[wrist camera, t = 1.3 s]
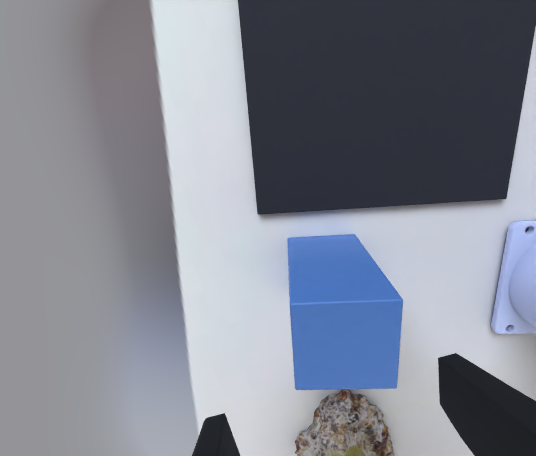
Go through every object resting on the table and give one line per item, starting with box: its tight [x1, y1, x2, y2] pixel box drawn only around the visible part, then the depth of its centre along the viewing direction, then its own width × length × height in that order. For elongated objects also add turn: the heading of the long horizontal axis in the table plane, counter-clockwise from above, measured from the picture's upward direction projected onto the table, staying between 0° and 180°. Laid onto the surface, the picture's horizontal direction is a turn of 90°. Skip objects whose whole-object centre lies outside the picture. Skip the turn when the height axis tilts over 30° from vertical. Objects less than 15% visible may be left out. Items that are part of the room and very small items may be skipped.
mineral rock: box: [295, 389, 395, 456], centre depth 23 cm, size 11×4×8 cm
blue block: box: [288, 234, 403, 390], centre depth 16 cm, size 4×4×8 cm
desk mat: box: [238, 0, 536, 214], centre depth 15 cm, size 15×20×1 cm
